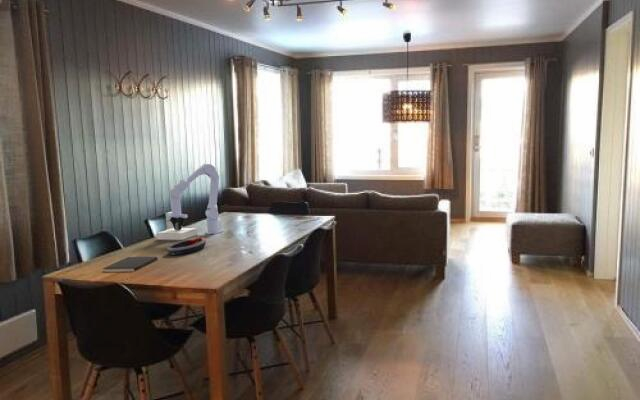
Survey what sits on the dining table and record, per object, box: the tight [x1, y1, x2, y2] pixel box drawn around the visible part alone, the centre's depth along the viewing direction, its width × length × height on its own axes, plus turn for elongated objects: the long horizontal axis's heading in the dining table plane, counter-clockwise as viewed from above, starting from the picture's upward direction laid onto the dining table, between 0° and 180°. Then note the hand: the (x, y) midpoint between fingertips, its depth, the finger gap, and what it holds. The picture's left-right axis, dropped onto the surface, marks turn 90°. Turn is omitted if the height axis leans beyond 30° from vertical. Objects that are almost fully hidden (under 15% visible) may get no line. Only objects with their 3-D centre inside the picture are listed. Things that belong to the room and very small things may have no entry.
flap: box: [164, 223, 197, 231], centre depth 336 cm, size 8×18×4 cm, turn 69°
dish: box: [166, 236, 207, 256], centre depth 292 cm, size 16×31×5 cm, turn 158°
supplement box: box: [165, 211, 174, 230], centre depth 360 cm, size 7×7×13 cm
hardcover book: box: [102, 256, 158, 273], centre depth 262 cm, size 16×23×2 cm
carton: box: [156, 229, 198, 242], centre depth 332 cm, size 16×18×4 cm
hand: (177, 229), depth 333 cm, fingers closed on flap, 2 cm apart
